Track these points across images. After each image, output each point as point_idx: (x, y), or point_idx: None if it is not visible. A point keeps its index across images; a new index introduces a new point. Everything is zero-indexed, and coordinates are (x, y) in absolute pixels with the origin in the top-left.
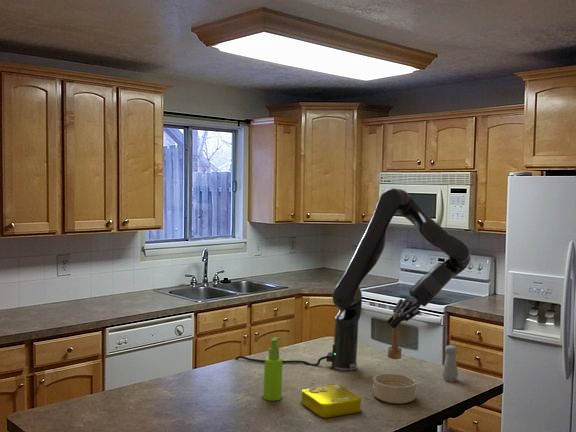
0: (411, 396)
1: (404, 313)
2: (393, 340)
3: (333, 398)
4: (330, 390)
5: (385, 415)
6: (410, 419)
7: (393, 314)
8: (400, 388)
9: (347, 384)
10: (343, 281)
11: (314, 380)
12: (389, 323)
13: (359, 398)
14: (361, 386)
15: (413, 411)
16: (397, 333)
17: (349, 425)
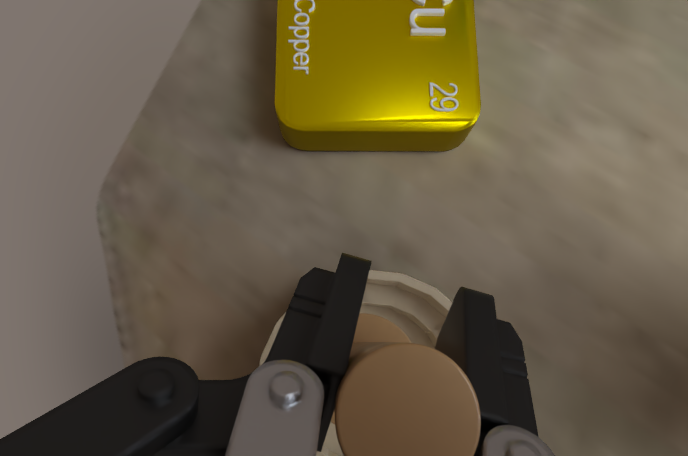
0: None
1: (105, 428)
2: (356, 343)
3: (324, 16)
4: (412, 52)
5: (213, 215)
6: (134, 285)
7: (421, 345)
8: (267, 343)
9: (589, 273)
10: None
11: (676, 160)
12: (448, 319)
13: (282, 114)
14: (546, 321)
15: (195, 356)
16: None
17: (197, 41)
